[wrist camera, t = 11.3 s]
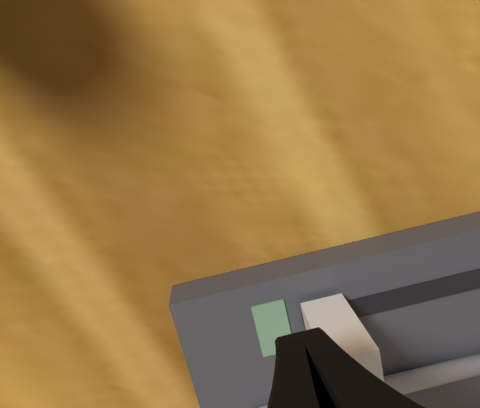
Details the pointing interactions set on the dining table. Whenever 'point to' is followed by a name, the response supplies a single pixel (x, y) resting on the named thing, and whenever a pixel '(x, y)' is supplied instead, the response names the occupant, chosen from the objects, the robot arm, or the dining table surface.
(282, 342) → the robot arm
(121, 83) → the dining table surface
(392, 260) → the slider control panel
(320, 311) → the breaker
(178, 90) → the dining table surface
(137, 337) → the dining table surface
